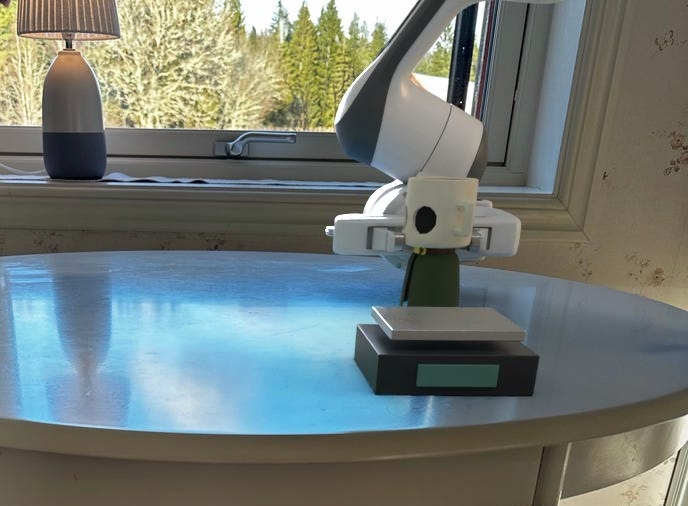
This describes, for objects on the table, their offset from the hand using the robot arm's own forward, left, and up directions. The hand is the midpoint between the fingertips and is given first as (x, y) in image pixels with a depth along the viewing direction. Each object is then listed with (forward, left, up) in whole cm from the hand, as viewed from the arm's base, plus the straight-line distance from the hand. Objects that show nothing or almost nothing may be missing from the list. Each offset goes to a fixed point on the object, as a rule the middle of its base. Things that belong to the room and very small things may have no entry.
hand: (437, 243), depth 99 cm
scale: (+5, +28, -7) cm, 29 cm away
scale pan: (+5, +28, -3) cm, 29 cm away
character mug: (0, -1, -7) cm, 7 cm away
